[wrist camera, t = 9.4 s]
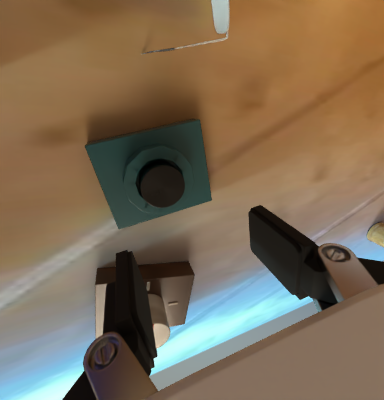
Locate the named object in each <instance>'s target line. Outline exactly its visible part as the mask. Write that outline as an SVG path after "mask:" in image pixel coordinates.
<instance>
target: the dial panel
mask: <svg viewBox="0 0 384 400" xmlns="http://www.w3.org/2000/svg"><path fill="white" fill-rule="evenodd" d="M138 268H139V270H140V273H141V275H142V278H143V280H144V283H145V285H146V288H147V292H148V294H155V295H158V296H160V297H161V298H162V300H163V302H164V306H165V311H166V315H167V319H168V324H169V327H171V326H177V325H182V324H185V319H186V314H187V309H188V305H189V300H190V295H191V290H192V285H193V280H194V275H195V274H194V272H193V270H192V268H191V266H190V263H189V261H187V262H174V263H161V264H148V265H138ZM114 281H116V267H109V268H97V274H96V282H95V327H96V338H98V337H99V336H101V335H102V334H103V322H104V308H105V293H106V285H107V284H109V283H111V282H114Z"/></svg>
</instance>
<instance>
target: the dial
mask: <svg viewBox="0 0 384 400" xmlns="http://www.w3.org/2000/svg"><path fill="white" fill-rule="evenodd" d="M148 299H149V305H150V311H151V318H152V324H153V331H154V337H155V343H156V349H157V348H159V347H160V346H162V345H163V344H164V343H165V342H166V341H167V340H168V338H169V336H170V328H169V324H168V319H167V315H166V311H165V306H164V302H163V300H162V298H161V297H160V296H158V295H155V294H148Z"/></svg>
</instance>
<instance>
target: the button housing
mask: <svg viewBox="0 0 384 400" xmlns="http://www.w3.org/2000/svg"><path fill="white" fill-rule="evenodd" d="M85 148H86V150H87V153H88V155H89V158H90V160H91V163H92V165H93V168H94V170H95V172H96V175H97V177H98V180H99V182H100V185H101V187H102V190H103V192H104V194H105V197H106V199H107V202H108V204H109V207H110V209H111V212H112V214H113V217H114V219H115V221H116V224H117V226H118V229H122V228H125V227H129V226H132V225H135V224H138V223H141V222H144V221H148V220H151V219H154V218H157V217H160V216H164V215H167V214H170V213H173V212H176V211H179V210H183V209H186V208H189V207H192V206H195V205H199V204H202V203H205V202H208V201H211V200H212V198H211V191H210V184H209V177H208V171H207V164H206V157H205V150H204V144H203V137H202V130H201V123H200V120H199V119H190V120H186V121H181V122H177V123H172V124H168V125H163V126H159V127H155V128H150V129H146V130H141V131H137V132H132V133H128V134H123V135H119V136H115V137H110V138H106V139H101V140H97V141H92V142H88V143H87V144H86V145H85ZM157 161H164V162H168V163H170V164H172V165H173V166H174V167H175V168H176V169H177V170H178V171H179V172H180V173H181V174H182V176H183V178H184V181H185V190H184V193H183V195H182V197H181V198H180V200H179V201H178V202H177V203H175V204H174V205H172V206H169V207H166V208H158V207H154V206H152V205H150V204H148V203H147V202H146V201H145V200H144V198H143V197H142V194H141V190H140V186H139V177H140V174H141V172H142V171H143V169H144V168H145V167H146V166H147V165H149V164H151V163H153V162H157Z"/></svg>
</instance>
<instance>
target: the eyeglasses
mask: <svg viewBox="0 0 384 400" xmlns="http://www.w3.org/2000/svg"><path fill="white" fill-rule="evenodd" d="M212 10H213V19H214V26H215V30H216V32H217V33H218V34H223V33H226V38H221V39H217V40H212V41H207V42H202V43H197V44H192V45H187V46H183V47H178V48H170V49H164V50H156V51H150V52H147V53H151V52H161V51H170V50H175V49H179V48H185V47H190V46H196V45H202V44H207V43H213V42H219V41H223V40H226V39H227V38H228V29H229V20H230V13H229V0H212ZM143 54H146V53H143Z"/></svg>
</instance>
